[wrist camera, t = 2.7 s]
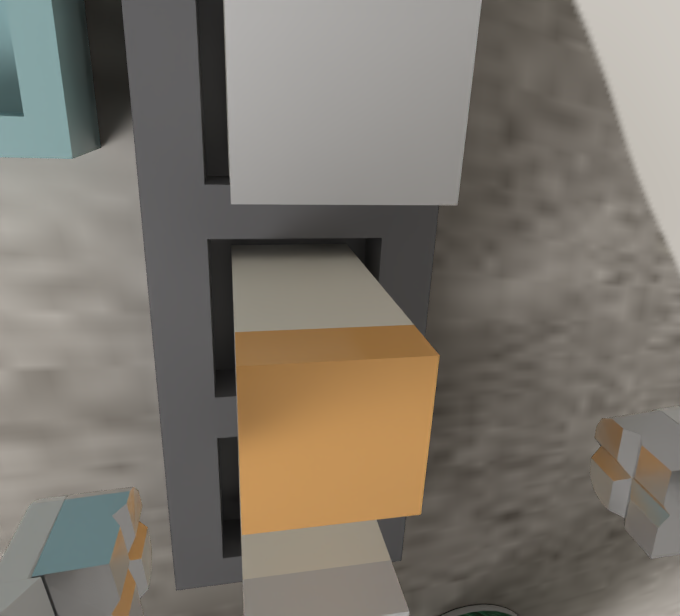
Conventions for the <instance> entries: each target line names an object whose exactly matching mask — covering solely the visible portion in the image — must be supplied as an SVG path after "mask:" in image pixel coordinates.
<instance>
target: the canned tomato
mask: <svg viewBox="0 0 680 616" xmlns="http://www.w3.org/2000/svg"><path fill="white" fill-rule="evenodd" d="M441 616H518V615H517V614H516V613H515V612H513V611H511V610H509V609H507V608H504V607H500V606H495V605H473V606H466V607H463V608H459V609H455V610H453V611H450V612H448V613H445V614H443V615H441Z"/></svg>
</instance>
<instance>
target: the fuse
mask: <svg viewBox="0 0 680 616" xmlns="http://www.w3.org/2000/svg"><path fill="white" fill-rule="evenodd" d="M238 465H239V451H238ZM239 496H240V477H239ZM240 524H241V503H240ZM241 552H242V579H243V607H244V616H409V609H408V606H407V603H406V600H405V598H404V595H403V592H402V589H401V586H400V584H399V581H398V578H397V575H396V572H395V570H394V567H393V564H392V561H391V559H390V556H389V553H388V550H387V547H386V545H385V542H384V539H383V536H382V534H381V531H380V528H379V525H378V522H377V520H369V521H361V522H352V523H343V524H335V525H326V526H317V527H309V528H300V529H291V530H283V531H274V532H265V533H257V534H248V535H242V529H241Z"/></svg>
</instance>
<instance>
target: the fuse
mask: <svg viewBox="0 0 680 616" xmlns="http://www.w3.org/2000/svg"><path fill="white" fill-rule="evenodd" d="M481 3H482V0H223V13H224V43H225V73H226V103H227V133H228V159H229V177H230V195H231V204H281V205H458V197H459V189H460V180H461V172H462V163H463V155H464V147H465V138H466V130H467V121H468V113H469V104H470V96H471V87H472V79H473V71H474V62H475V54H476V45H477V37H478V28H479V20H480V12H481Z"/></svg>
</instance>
